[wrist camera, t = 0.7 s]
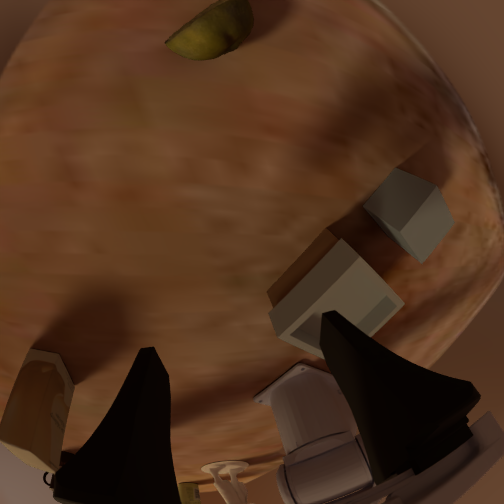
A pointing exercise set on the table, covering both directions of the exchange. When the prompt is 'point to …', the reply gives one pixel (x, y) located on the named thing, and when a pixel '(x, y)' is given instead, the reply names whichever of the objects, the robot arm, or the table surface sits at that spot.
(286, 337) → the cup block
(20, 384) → the skincare box
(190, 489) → the tube
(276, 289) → the walnut block
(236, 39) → the lime
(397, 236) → the grey small block
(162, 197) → the table surface
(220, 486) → the female figurine
